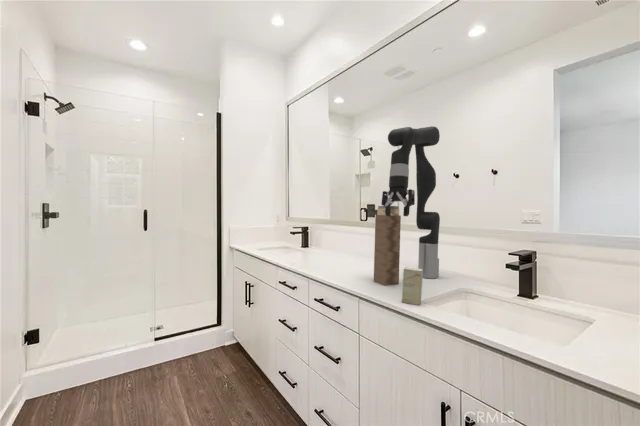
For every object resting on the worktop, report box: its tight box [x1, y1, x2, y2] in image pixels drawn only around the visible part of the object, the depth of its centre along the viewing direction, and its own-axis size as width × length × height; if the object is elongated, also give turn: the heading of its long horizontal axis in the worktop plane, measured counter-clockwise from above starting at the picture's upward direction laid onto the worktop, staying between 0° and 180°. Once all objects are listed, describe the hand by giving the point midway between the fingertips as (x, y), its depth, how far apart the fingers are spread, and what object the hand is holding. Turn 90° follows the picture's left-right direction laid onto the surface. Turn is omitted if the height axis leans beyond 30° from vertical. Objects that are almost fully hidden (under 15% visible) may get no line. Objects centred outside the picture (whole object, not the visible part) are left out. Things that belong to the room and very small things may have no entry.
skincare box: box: [401, 266, 423, 306], centre depth 105 cm, size 6×4×12 cm
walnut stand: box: [373, 215, 402, 287], centre depth 133 cm, size 8×8×31 cm
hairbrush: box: [368, 205, 400, 216], centre depth 137 cm, size 6×16×4 cm, turn 26°
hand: (396, 216), depth 117 cm, fingers open, 8 cm apart
